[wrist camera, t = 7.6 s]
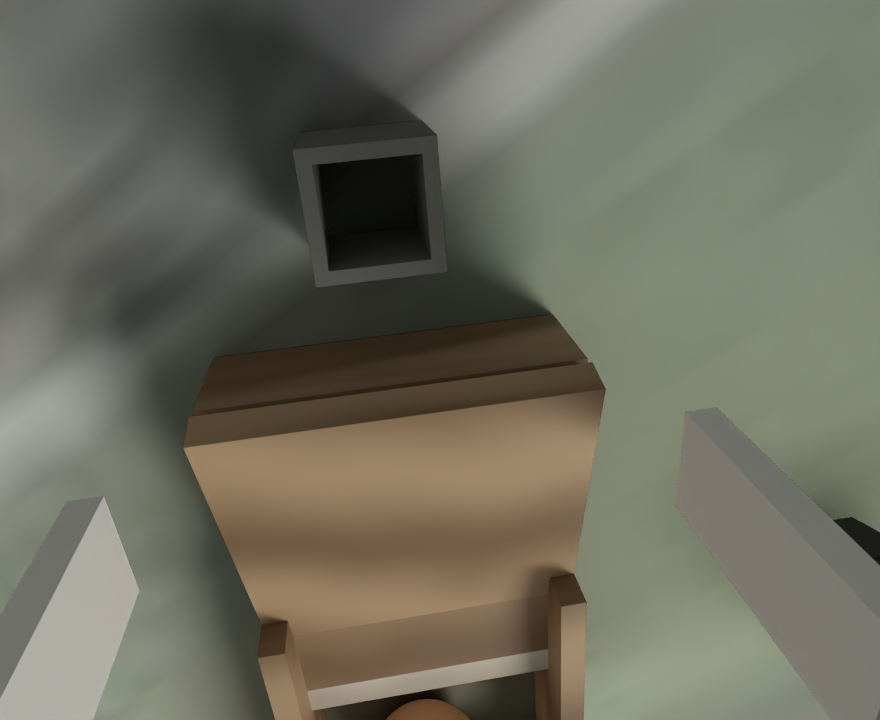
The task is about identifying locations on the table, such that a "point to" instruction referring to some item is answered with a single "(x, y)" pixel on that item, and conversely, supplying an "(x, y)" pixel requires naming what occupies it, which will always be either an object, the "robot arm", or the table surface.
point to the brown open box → (406, 509)
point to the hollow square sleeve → (381, 249)
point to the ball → (427, 711)
